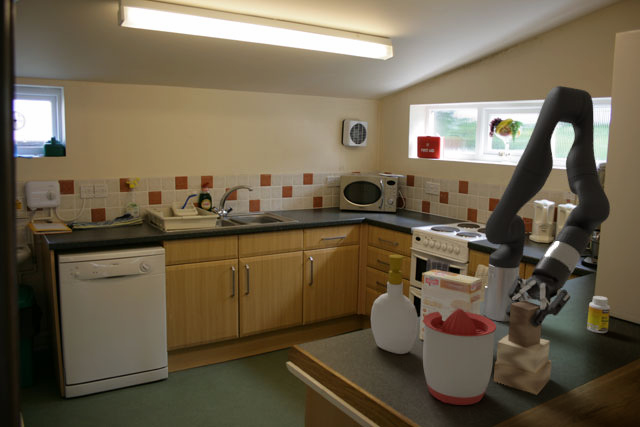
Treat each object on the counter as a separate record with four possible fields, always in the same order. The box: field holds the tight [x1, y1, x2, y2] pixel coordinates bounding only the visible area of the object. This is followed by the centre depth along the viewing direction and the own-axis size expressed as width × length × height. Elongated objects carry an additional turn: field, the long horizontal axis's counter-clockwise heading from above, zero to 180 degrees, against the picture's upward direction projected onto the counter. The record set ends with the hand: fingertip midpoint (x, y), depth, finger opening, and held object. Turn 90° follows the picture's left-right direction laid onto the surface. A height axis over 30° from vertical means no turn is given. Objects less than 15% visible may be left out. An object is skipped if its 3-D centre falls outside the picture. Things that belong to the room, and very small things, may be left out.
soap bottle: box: [370, 254, 419, 355], centre depth 143 cm, size 14×9×26 cm, turn 46°
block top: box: [495, 333, 550, 373], centre depth 127 cm, size 9×9×5 cm
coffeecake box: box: [419, 269, 483, 341], centre depth 148 cm, size 15×7×20 cm, turn 47°
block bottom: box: [493, 359, 553, 395], centre depth 127 cm, size 10×10×5 cm
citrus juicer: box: [422, 309, 497, 406], centre depth 120 cm, size 16×17×20 cm
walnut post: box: [508, 301, 543, 348], centre depth 125 cm, size 5×5×9 cm
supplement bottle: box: [586, 295, 611, 334], centre depth 160 cm, size 6×6×10 cm
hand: (520, 320), depth 124 cm, fingers open, 6 cm apart
